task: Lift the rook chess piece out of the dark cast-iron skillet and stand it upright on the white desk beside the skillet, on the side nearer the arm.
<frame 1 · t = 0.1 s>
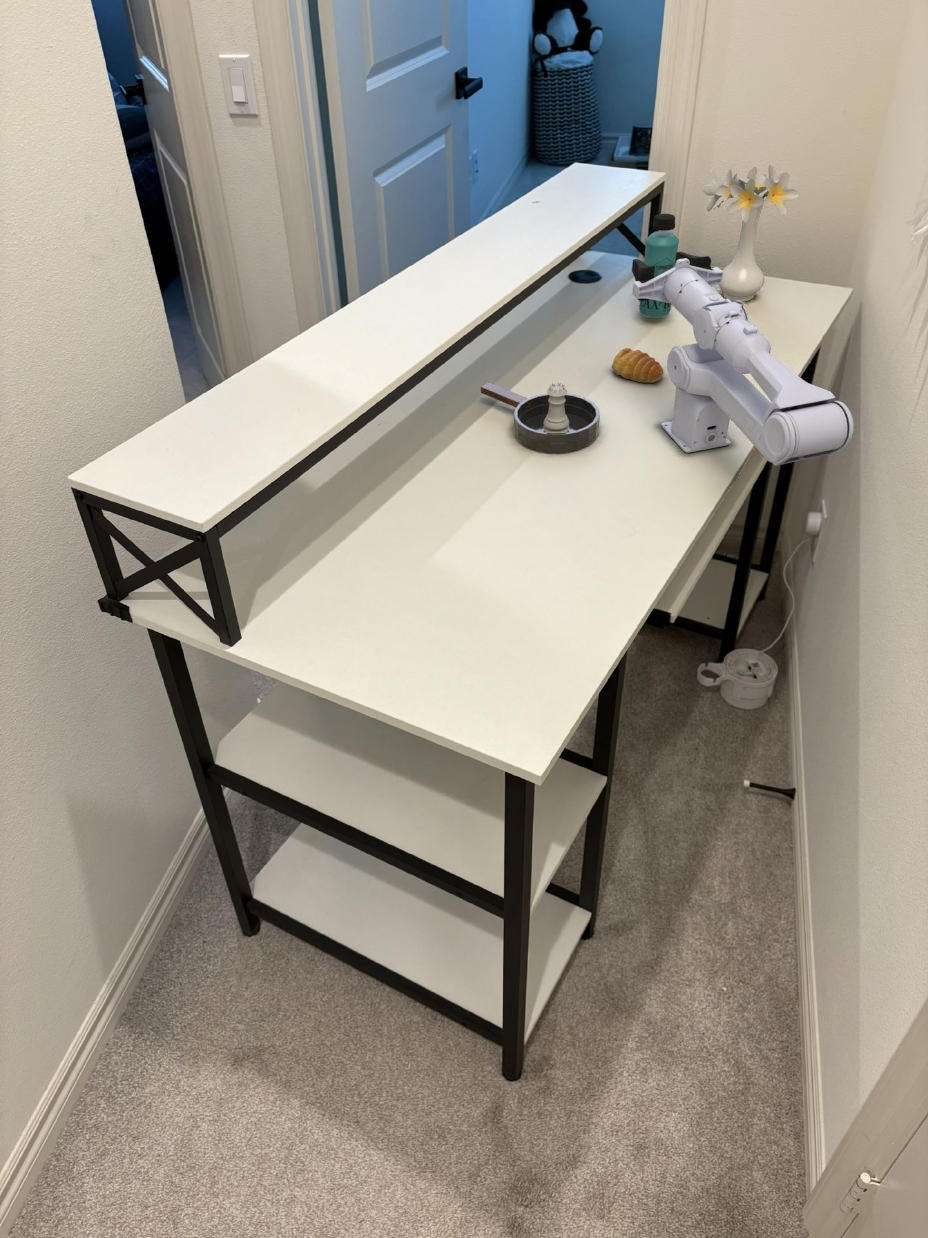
hand: (655, 261, 146), 22 cm above the table, tool horizontal, fingers open, 7 cm apart
pan: (556, 432, 149), on the table
rook chess piece: (556, 431, 149), resting on pan
flower vase: (734, 297, 187), on the table
beverage bottle: (654, 319, 181), on the table
pastry: (636, 374, 163), on the table
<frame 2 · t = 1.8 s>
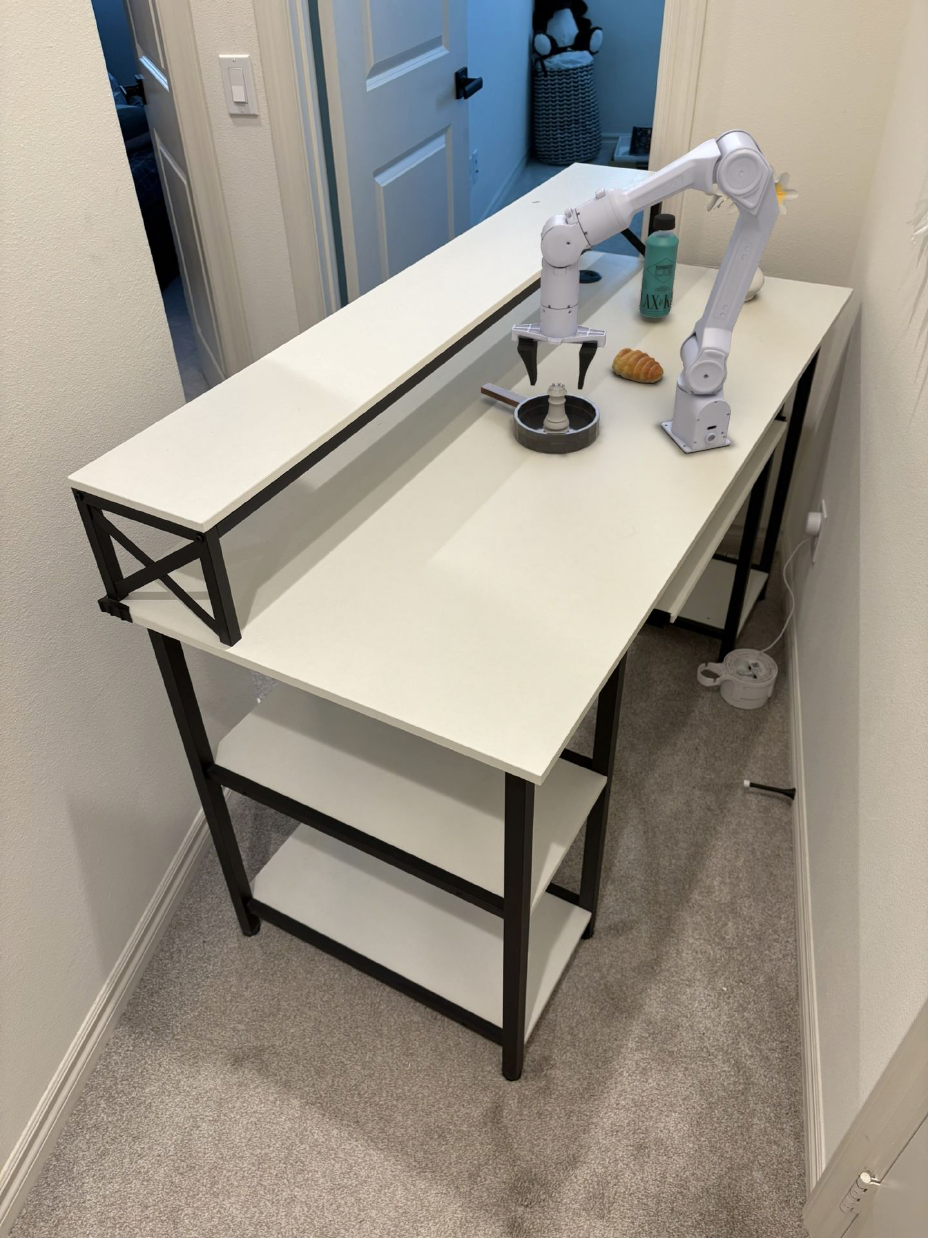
hand: (557, 384, 143), 9 cm above the table, tool pointing down, fingers open, 7 cm apart
nothing on the table moved.
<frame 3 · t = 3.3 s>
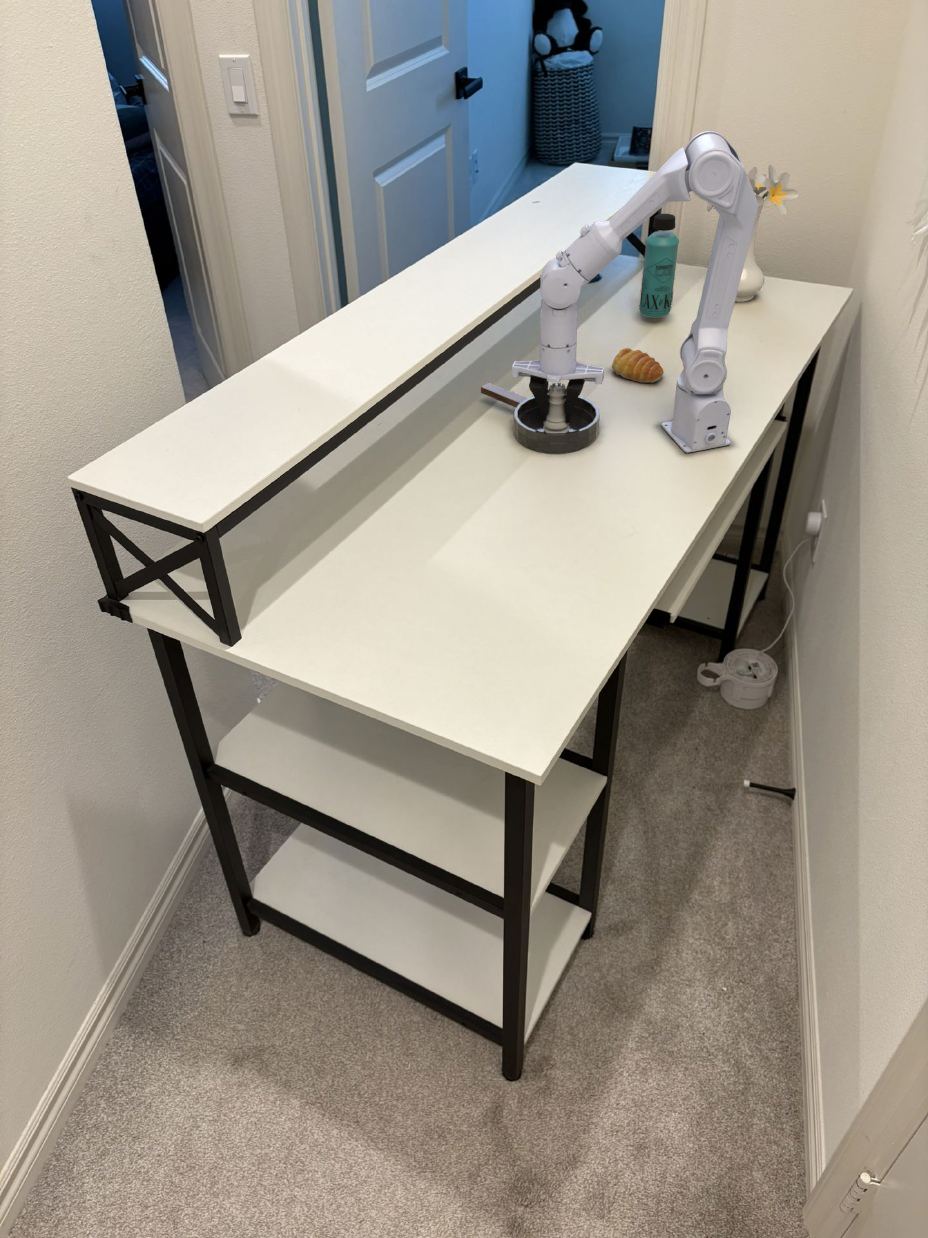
hand: (556, 418, 147), 3 cm above the table, tool pointing down, fingers closed on rook chess piece, 3 cm apart
rook chess piece: (556, 431, 149), resting on pan, touching gripper
everything else where it was.
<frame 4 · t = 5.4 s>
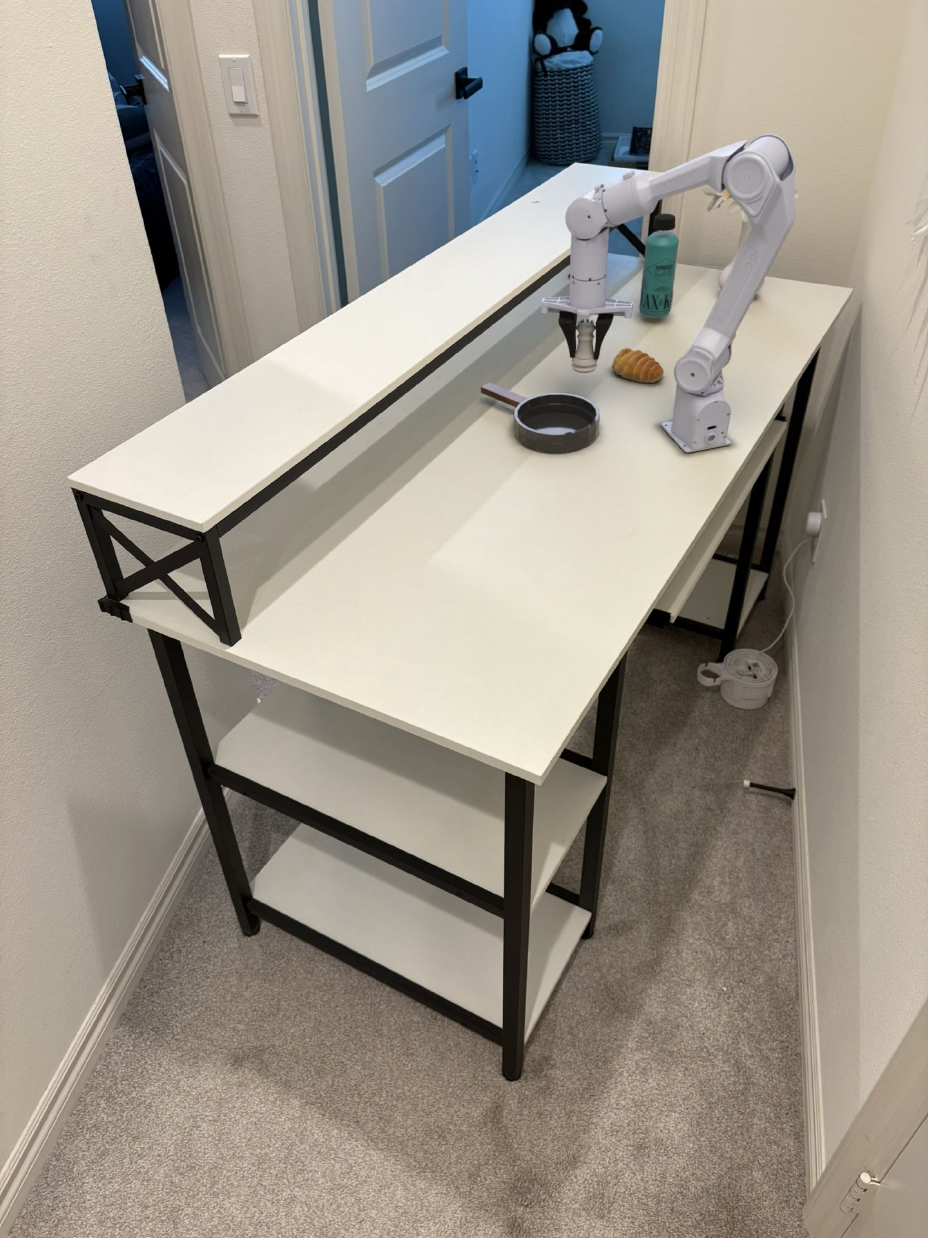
hand: (584, 356, 148), 10 cm above the table, tool pointing down, fingers closed on rook chess piece, 3 cm apart
rook chess piece: (584, 368, 150), point 7 cm above the table, touching gripper
everything else where it was.
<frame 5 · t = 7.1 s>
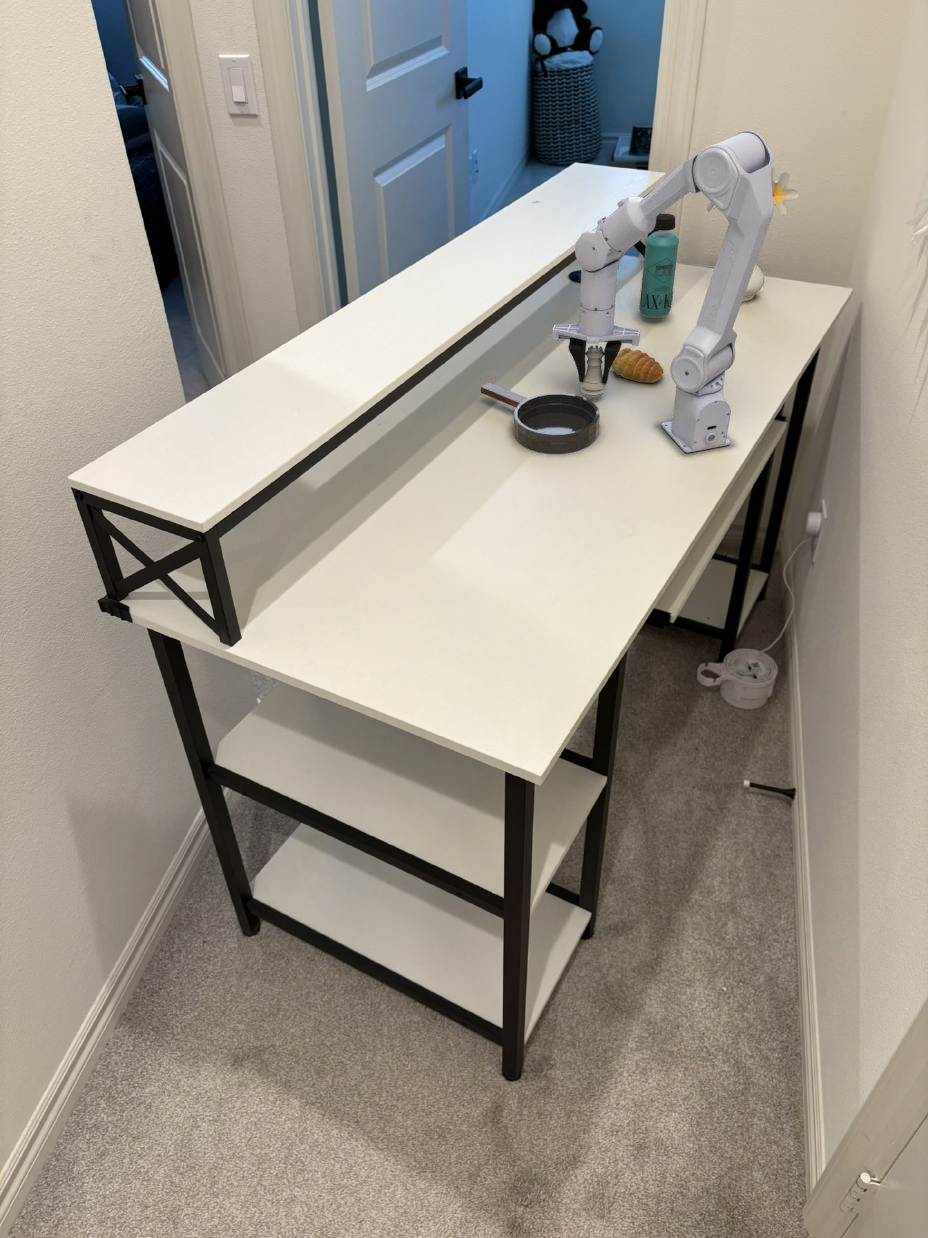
hand: (593, 380, 155), 3 cm above the table, tool pointing down, fingers closed on rook chess piece, 3 cm apart
rook chess piece: (592, 392, 156), point 1 cm above the table, touching gripper
everything else where it was.
when the fingers open (2 cm above the table, at t = 7.9 s): rook chess piece stays where it is, on the table.
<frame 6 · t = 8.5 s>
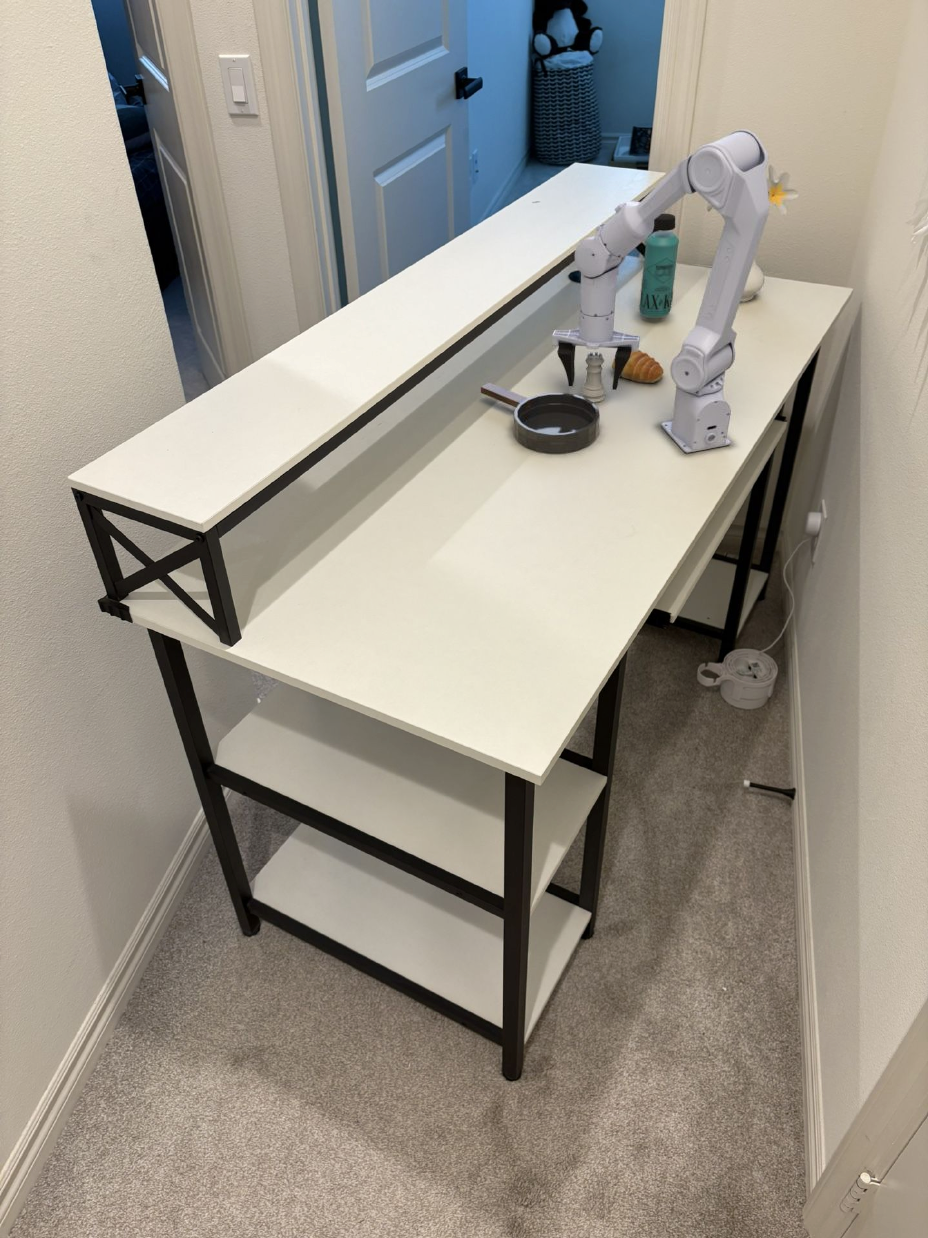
hand: (593, 385, 155), 2 cm above the table, tool pointing down, fingers open, 7 cm apart
rook chess piece: (592, 398, 157), on the table
everything else where it was.
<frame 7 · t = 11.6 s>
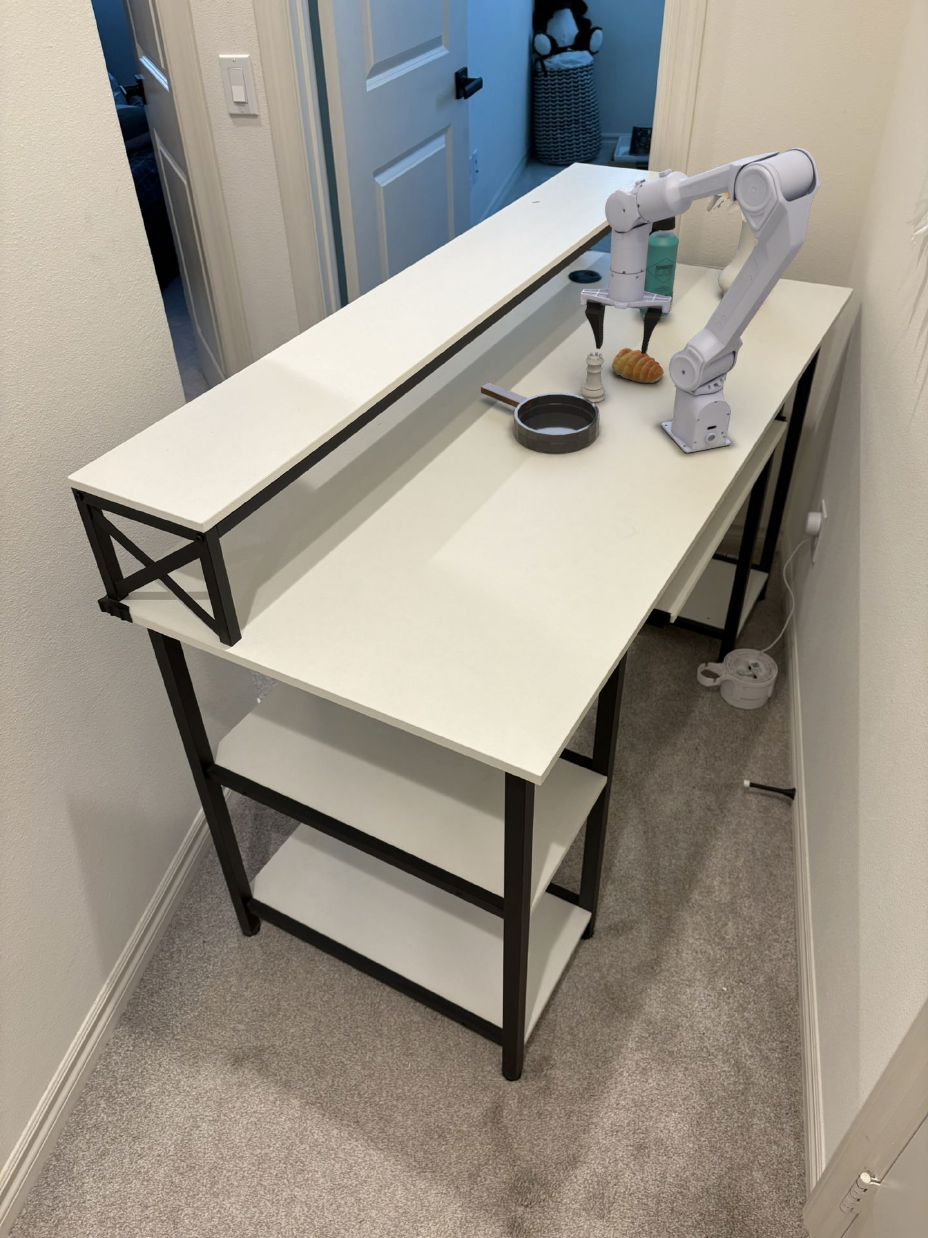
hand: (621, 348, 150), 9 cm above the table, tool pointing down, fingers open, 7 cm apart
nothing on the table moved.
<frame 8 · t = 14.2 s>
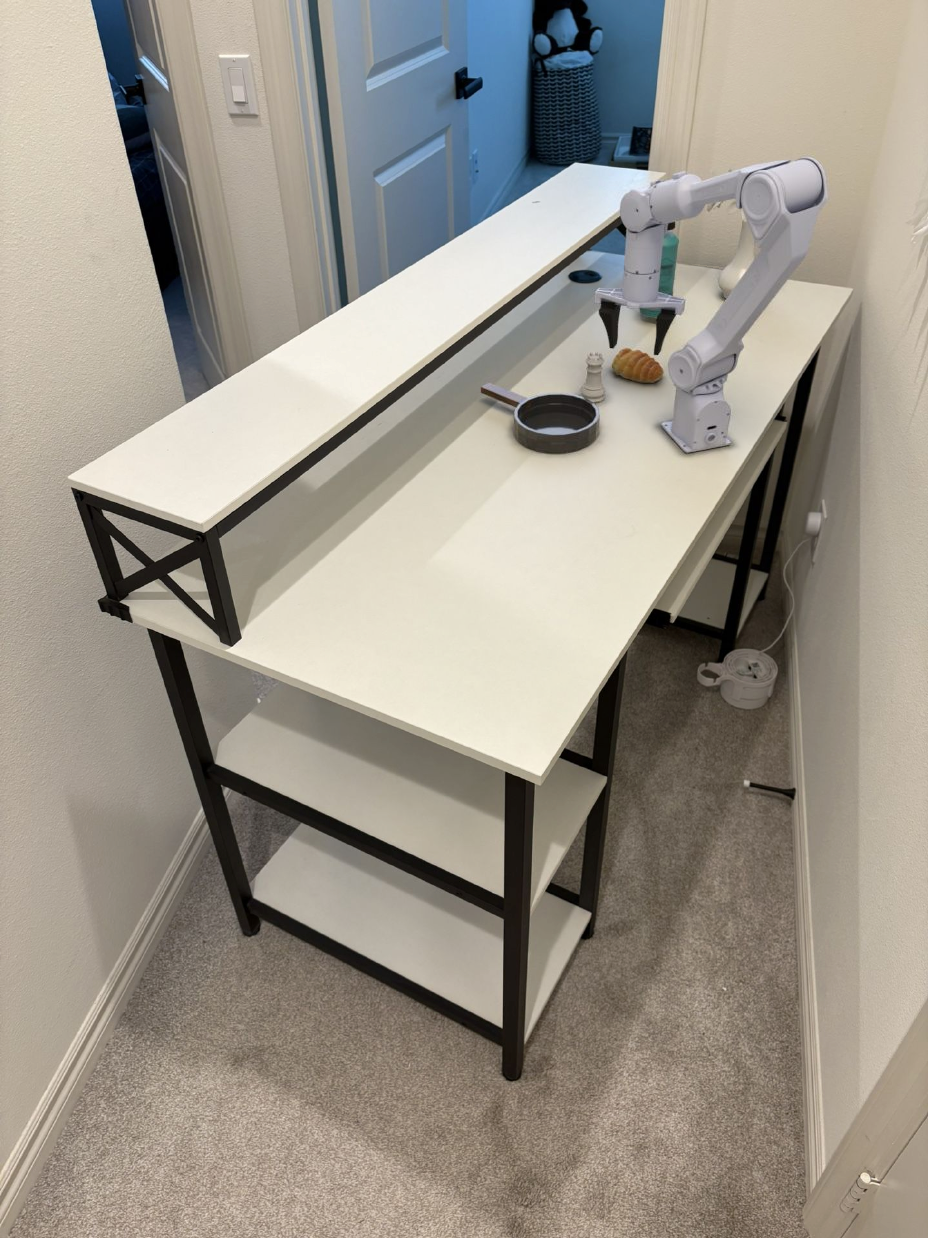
hand: (635, 349, 150), 9 cm above the table, tool pointing down, fingers open, 7 cm apart
nothing on the table moved.
at the end: rook chess piece inside the target area (0.0 cm from its centre), on the table; rook chess piece tilted 0°; rook chess piece touching table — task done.
